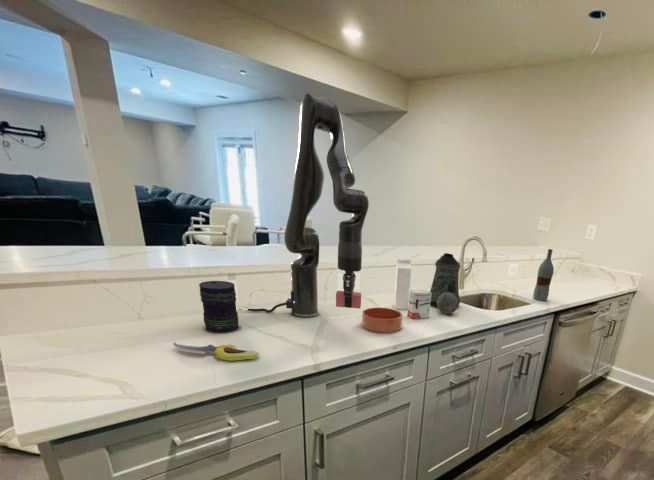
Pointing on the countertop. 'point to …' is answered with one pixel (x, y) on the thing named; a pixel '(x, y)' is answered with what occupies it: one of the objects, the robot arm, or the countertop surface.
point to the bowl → (382, 320)
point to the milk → (402, 284)
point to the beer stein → (445, 278)
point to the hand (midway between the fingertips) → (348, 305)
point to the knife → (221, 351)
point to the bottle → (544, 278)
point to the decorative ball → (447, 303)
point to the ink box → (419, 303)
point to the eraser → (355, 299)
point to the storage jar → (219, 306)
